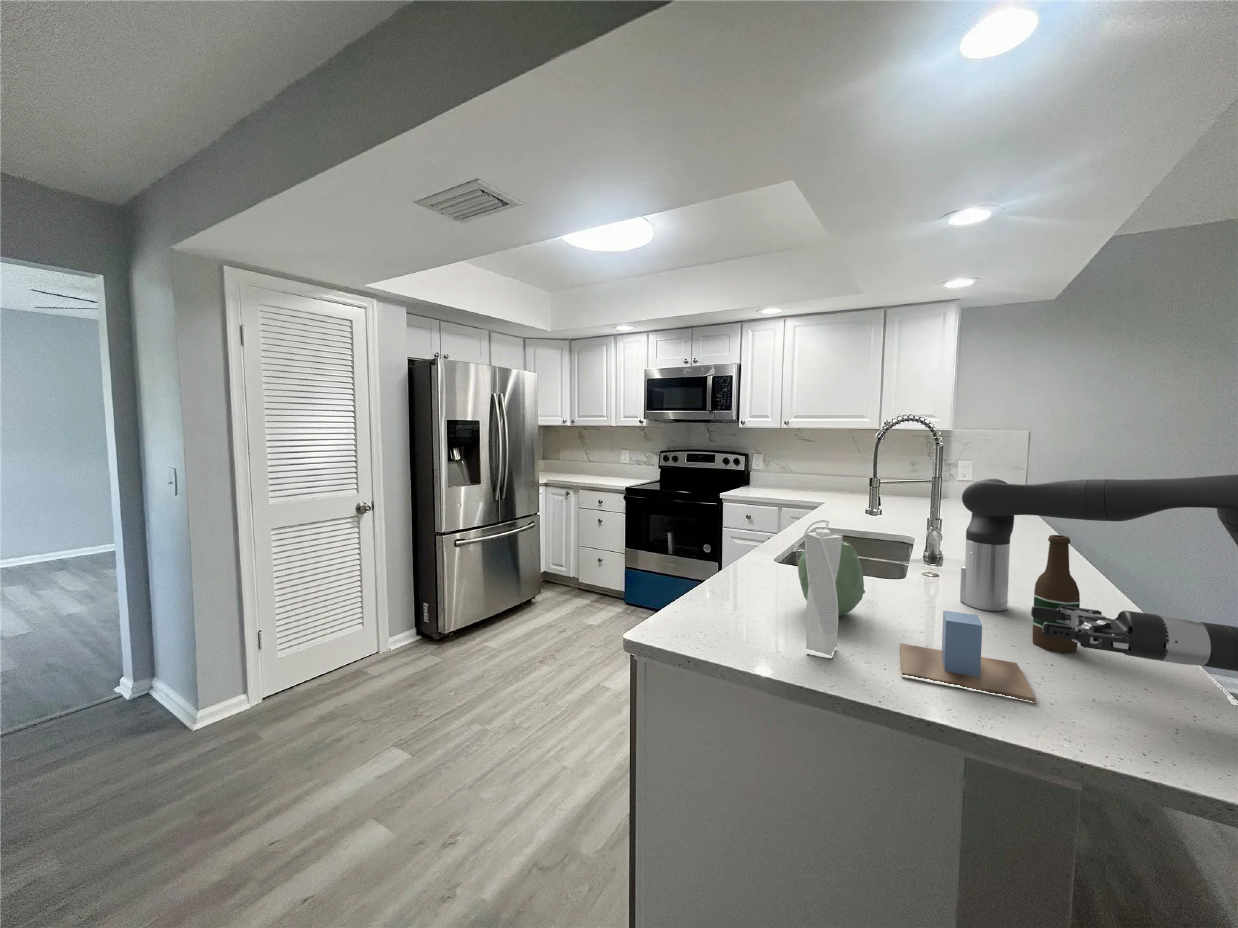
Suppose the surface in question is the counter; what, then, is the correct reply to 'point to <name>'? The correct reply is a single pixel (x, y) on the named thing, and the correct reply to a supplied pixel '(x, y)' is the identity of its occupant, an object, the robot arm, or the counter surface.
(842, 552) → the cabbage
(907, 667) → the post stand
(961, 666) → the pale blue tall block
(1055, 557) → the beer bottle
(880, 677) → the counter surface
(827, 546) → the skyscraper
